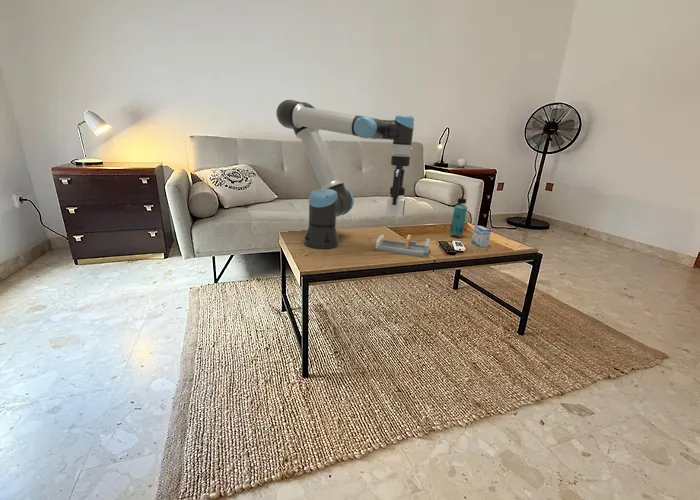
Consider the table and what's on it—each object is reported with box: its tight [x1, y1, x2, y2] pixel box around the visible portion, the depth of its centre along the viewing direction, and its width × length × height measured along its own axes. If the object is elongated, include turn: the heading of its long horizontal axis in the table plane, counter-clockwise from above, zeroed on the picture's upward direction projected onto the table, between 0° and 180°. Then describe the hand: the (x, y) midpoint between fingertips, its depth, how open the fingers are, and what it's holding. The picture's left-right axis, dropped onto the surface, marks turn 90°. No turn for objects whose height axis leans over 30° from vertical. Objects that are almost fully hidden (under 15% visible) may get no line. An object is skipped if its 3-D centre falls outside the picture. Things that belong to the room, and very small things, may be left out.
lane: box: [375, 234, 431, 258], centre depth 151 cm, size 22×12×5 cm, turn 74°
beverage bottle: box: [449, 197, 468, 237], centre depth 176 cm, size 6×7×20 cm
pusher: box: [405, 234, 417, 249], centre depth 150 cm, size 4×8×5 cm, turn 164°
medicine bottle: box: [385, 186, 406, 218], centre depth 147 cm, size 7×7×12 cm
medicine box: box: [471, 225, 492, 248], centre depth 166 cm, size 8×4×9 cm, turn 12°
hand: (395, 210), depth 148 cm, fingers closed on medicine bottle, 7 cm apart
